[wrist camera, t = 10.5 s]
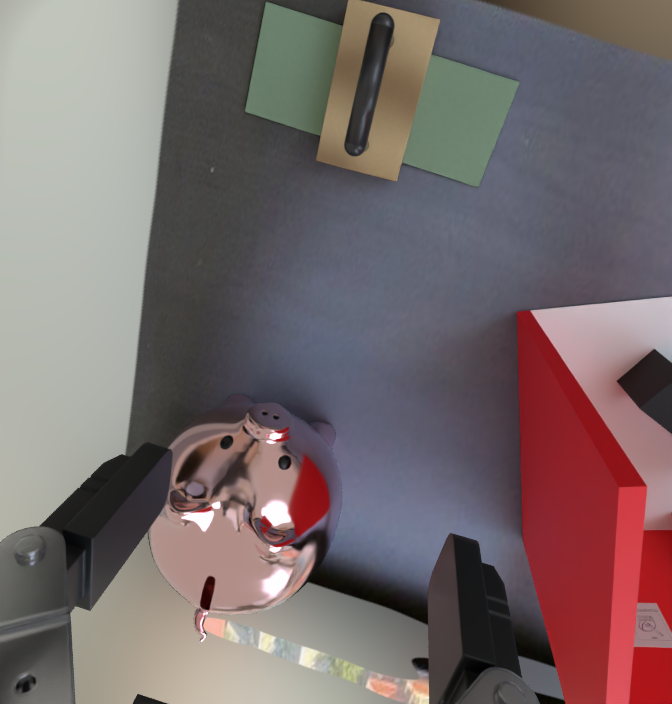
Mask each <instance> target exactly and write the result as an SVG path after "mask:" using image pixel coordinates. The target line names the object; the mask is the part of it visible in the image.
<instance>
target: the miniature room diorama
mask: <svg viewBox="0 0 672 704" xmlns="http://www.w3.org/2000/svg"><path fill="white" fill-rule="evenodd" d="M517 335H518V374H519V412H520V451H521V489H522V528H523V542H524V546H525V550H526V554H527V557H528V561H529V565H530V569H531V573H532V577H533V580H534V584H535V588H536V592H537V596H538V600H539V603H540V607H541V611H542V615H543V619H544V623H545V626H546V630H547V634H548V638H549V642H550V646H551V649H552V653H553V657H554V661H555V665H556V669H557V672H558V676H559V680H560V684H561V687H562V691H563V695H564V699H565V703H566V704H672V297H662V298H652V299H641V300H631V301H621V302H611V303H601V304H591V305H580V306H570V307H560V308H550V309H540V310H529V311H519V312H517Z"/></svg>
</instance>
